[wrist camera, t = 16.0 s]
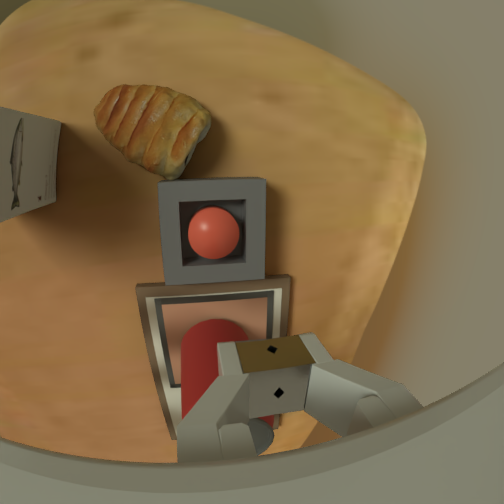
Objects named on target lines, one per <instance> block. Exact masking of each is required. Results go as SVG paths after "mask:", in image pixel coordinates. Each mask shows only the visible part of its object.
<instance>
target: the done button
mask: <svg viewBox="0 0 504 504" xmlns="http://www.w3.org/2000/svg"><path fill="white" fill-rule="evenodd" d="M188 238H189V242H190V245H191V247H192V248H193V250H194V251H195V252H196V253H197V254H199V255H200V256H202V257H204V258H208V259H219V258H222V257H225V256H226V255H228V254H229V253H231V252H232V251H233V250H234V248H235V247H236V245H237V243H238V240H239V227H238V224H237V222H236V221H235V219H234V218H233V216H232V215H231V214H230V213H229V211H227V210H226V209H224V208H223V207H220V206H216V205H209V206H205V207H202V208H200V209H199V210H197V211H196V212H195V213H194V214H193V216H192V217H191V219H190V222H189V228H188Z"/></svg>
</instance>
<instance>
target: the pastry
mask: <svg viewBox="0 0 504 504" xmlns="http://www.w3.org/2000/svg"><path fill="white" fill-rule="evenodd" d="M94 116H95V121H96V126H97V128H98V129H99V130H100V131H101V133H102V134H104V137H105V139H106V140H108V141H109V143H110V144H111V145H112V146H114V147H115V148H116V149H118V150H119V151H121V152H122V153H123V155H124V156H125V158H126V159H127V161H129V162H132V163H137V164H139V165H141V166H143V167H145V168H146V169H147V170H148V171H149V172H152V173H155V174H159V175H162V176H164V177H165V178H166V179H168V180H175V179H177V178H179V177H180V175H181V174H182V172H183V171H184V169H185V166H186V165H187V164H188V162H189V160H190V159H191V156H192V154H193V152H194V150H195V147H196V144H197V143H198V142H200V141H201V140H202V139H204V137H205V136H206V134H207V132H208V131H209V129H210V126H211V115H210V113H209V111H207V110H205V109H204V108H203V107H202V106H201V105H200V104H199V103H198V102H197V101H196V100H195V99H194V98H192V97H190V96H187V95H185V94H182V93H179V92H176V91H174V90H172V89H170V88H168V87H160V86H156V85H152V86H148V85H136V86H132V85H126V84H125V85H120V86H117V87H115V88H113V89H112V90H110V91H108V92H107V94H106V95H105V96H104V97H103V98H102V100H101V101H100V103H99V104H98V105H97V106H96V107H95V109H94Z"/></svg>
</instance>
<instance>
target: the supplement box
mask: <svg viewBox="0 0 504 504" xmlns="http://www.w3.org/2000/svg"><path fill="white" fill-rule="evenodd" d="M60 128H61V122H60V121H57V120H53V119H49V118H45V117H41V116H37V115H33V114H28V113H24V112H20V111H16V110H12V109H8V108H4V107H0V222H3V221H5V220H8V219H10V218H13V217H15V216H18V215H20V214H23V213H26V212H28V211H31V210H34V209H37V208H39V207H42V206H45V205H48V204H51V203H54V202H56V164H57V152H58V142H59V135H60Z"/></svg>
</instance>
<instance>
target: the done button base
mask: <svg viewBox="0 0 504 504" xmlns="http://www.w3.org/2000/svg"><path fill="white" fill-rule="evenodd" d="M158 201H159V219H160V233H161V246H162V257H163V267H164V277H165V285H183V284H200V283H215V282H230V281H244V280H258V279H265V230H266V179H264V178H260V177H221V178H193V179H175V180H161V181H160V182H158ZM209 205H216V206H220V207H223V208H224V209H226V210H227V211H229V213H230V214H231V215H232V216H233V218H234V219H235V221H236V222H237V224H238V227H239V240H238V243H237V245H236V247H235V248H234V250H233V251H232V252H231V253H229V254H228V255H226V256H225V257H222V258H219V259H208V258H204V257H202V256H200V255H199V254H197V253H196V252H195V251H194V250H193V248H192V247H191V245H190V242H189V238H188V228H189V222H190V219H191V217H192V216H193V214H194V213H195V212H196V211H197V210H199V209H200V208H202V207H205V206H209Z"/></svg>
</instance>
